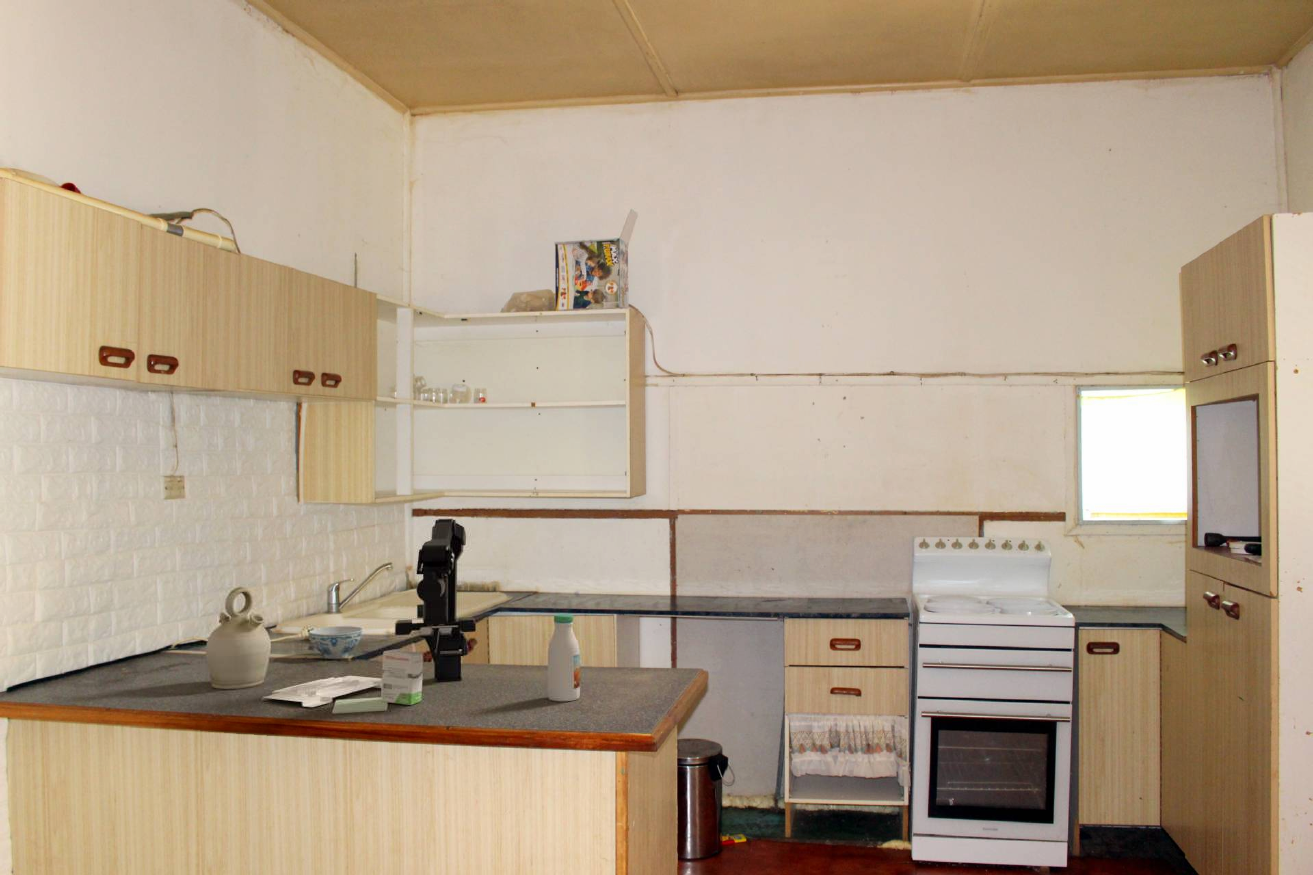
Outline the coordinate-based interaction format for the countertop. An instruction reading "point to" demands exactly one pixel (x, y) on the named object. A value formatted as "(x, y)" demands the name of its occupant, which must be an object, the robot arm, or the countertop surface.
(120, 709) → the countertop surface
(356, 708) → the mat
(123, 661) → the countertop surface
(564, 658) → the milk bottle
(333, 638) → the chinaware
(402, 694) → the ink box
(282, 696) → the tray
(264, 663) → the jug
